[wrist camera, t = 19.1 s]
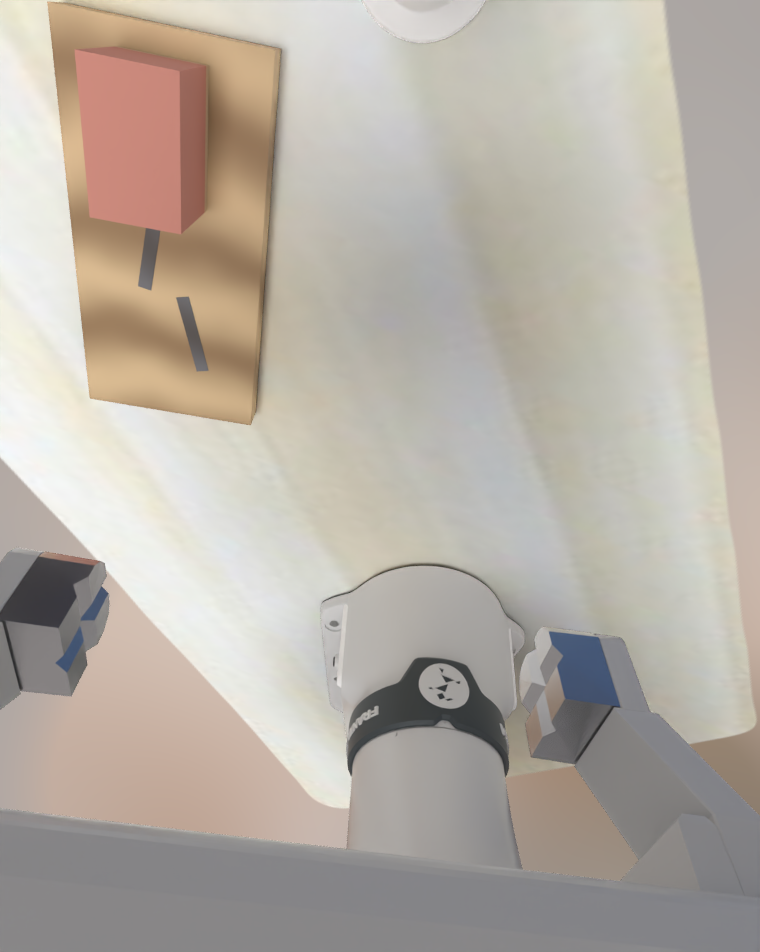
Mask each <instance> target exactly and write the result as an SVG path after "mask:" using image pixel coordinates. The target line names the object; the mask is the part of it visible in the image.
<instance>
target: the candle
mask: <svg viewBox="0 0 760 952" xmlns="http://www.w3.org/2000/svg"><path fill="white" fill-rule="evenodd" d="M485 1H486V0H362V3H363V4H364V6H365V8H366V9H367V11H368V12H369V14H370V15H371V17H372V18H373V19H374V20H375V21H376V22H377V24H379V25H380V26H381V27H382V28H383V29H384V30H386V31H387V32H388V33H390V34H392V35H393V36H395V37H397V38H399V39H402V40H405V41H408V42H413V43H431V42H436V41H440V40H443V39H445V38H448V37H450V36H452V35H453V34H455V33H457V32H458V31H460V30H461V29H462V28H463V27H465V26H466V25H467V24H468V23H469V22H470V21H471V20H472V19H473V18H474V17H475V15H476V14H477V13H478V12H479V10H480V9H481V7H482V6H483V4H484V3H485Z"/></svg>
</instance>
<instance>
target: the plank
mask: <svg viewBox="0 0 760 952" xmlns="http://www.w3.org/2000/svg"><path fill="white" fill-rule="evenodd" d="M47 3H48V12H49V21H50V31H51V40H52V49H53V59H54V68H55V77H56V87H57V96H58V105H59V115H60V124H61V133H62V143H63V152H64V161H65V171H66V180H67V189H68V199H69V208H70V218H71V227H72V236H73V246H74V255H75V264H76V274H77V283H78V292H79V302H80V311H81V320H82V330H83V339H84V348H85V358H86V367H87V376H88V386H89V395H90V398H91V399H97V400H103V401H109V402H115V403H121V404H127V405H133V406H139V407H145V408H151V409H157V410H163V411H169V412H175V413H181V414H187V415H193V416H199V417H205V418H211V419H217V420H222V421H228V422H234V423H240V424H246V425H251V423H252V420H253V418H254V415H255V413H256V400H257V385H258V371H259V357H260V342H261V328H262V314H263V299H264V285H265V271H266V256H267V242H268V228H269V214H270V199H271V185H272V171H273V156H274V142H275V128H276V113H277V99H278V85H279V70H280V56H281V49H280V48H275V47H270V46H265V45H261V44H256V43H251V42H247V41H242V40H237V39H233V38H228V37H223V36H218V35H214V34H209V33H204V32H200V31H195V30H190V29H186V28H181V27H176V26H171V25H167V24H162V23H157V22H153V21H148V20H143V19H139V18H134V17H129V16H124V15H120V14H115V13H110V12H106V11H101V10H96V9H91V8H87V7H82V6H77V5H73V4H68V3H62V2H47ZM113 46H119V47H124V48H129V49H134V50H138V51H143V52H148V53H153V54H158V55H163V56H167V57H172V58H177V59H182V60H187V61H191V62H196V63H201V64H206V65H209V89H208V163H207V211H206V212H205V213H204V214H203V215H202V216H200V217H199V218H198V219H197V220H196V221H195V222H194V223H193V224H192V225H191V226H190V227H189V228H188V229H186V230H185V231H184V232H183V233H182V234H176V233H171V232H165V231H160V230H155V229H149V228H144V227H139V226H133V225H128V224H123V223H117V222H112V221H107V220H101V219H96V218H91V217H90V215H89V204H88V193H87V182H86V171H85V160H84V149H83V138H82V127H81V116H80V105H79V94H78V83H77V72H76V61H75V50H74V49H86V48H100V47H113Z"/></svg>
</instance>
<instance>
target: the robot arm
mask: <svg viewBox="0 0 760 952" xmlns="http://www.w3.org/2000/svg"><path fill="white" fill-rule="evenodd" d="M106 576H107V575H106V569H105V563H103V562H101V561H97V560H91V559H85V558H79V557H74V556H68V555H62V554H56V553H50V552H42V551H36V550H30V549H25V548H19V547H16V548H14V549H13V550H11V551H10V552H8V553H7V554H6V556H5V557H4V558H3V559H2V561H1V562H0V710H1V709H2V708H3V707H5V706H6V705H7V704H8V703H10V702H11V701H12V700H14V699H15V698H16V697H17V696H19V695H20V694H21V692H20V691H26V692H34V693H45V694H53V695H63V696H72V694H73V692H74V690H75V688H76V686H77V684H78V682H79V680H80V678H81V676H82V674H83V672H84V670H85V668H86V666H87V659H86V651H87V650H89V649H91V648H92V647H94V646H95V645H97V644H98V642H99V640H100V638H101V636H102V634H103V631H104V628H105V625H106V621H107V618H108V613H109V594H108V592H107V591H106V590H105V589H104V588H103V587H102V584H103V582H104V580H105V578H106ZM320 616H321V626H322V635H323V644H324V653H325V662H326V672H327V681H328V690H329V699H330V704H331V706H332V707H333V708H335V709H337V710H338V711H340V712H342V713H343V716H344V724H345V732H346V738H347V747H346V751H347V759H348V770H349V772H350V775H351V776H352V782H351V795H350V808H349V821H348V835H347V849H343V848H334V847H325V846H317V845H309V844H300V843H292V842H283V841H273V840H265V839H257V838H249V837H240V836H231V835H223V834H214V833H206V832H198V831H189V830H180V829H172V828H163V827H154V826H146V825H138V824H129V823H120V822H111V821H104V820H95V819H87V818H78V817H70V816H61V815H52V814H44V813H35V812H27V811H19V810H10V809H2V808H0V952H760V816H759V815H758V814H757V813H756V812H755V811H754V810H753V809H752V808H751V807H750V806H749V805H748V804H747V803H746V802H745V801H744V800H743V799H742V798H741V797H740V796H739V795H738V794H737V793H736V792H735V791H734V790H733V789H732V788H731V787H730V786H729V785H728V784H727V783H726V782H725V781H724V780H723V779H722V778H721V777H720V776H719V775H718V774H717V773H716V772H715V771H714V770H713V769H712V768H711V767H710V766H709V765H708V764H707V763H706V762H705V761H704V760H703V759H702V758H701V757H700V755H699V754H698V753H696V751H695V750H693V748H691V747H690V745H689V744H688V743H687V742H686V741H685V740H684V739H683V738H682V737H681V736H680V735H679V734H678V733H677V732H676V731H675V730H674V729H673V728H672V727H671V726H670V725H669V724H668V723H667V722H666V721H665V720H664V719H663V718H662V717H661V716H660V715H659V714H657V713H652V712H650V710H649V708H648V705H647V702H646V700H645V697H644V694H643V691H642V689H641V686H640V683H639V680H638V678H637V675H636V672H635V669H634V667H633V664H632V661H631V659H630V656H629V653H628V650H627V648H626V645H625V642H624V641H623V640H622V639H621V638H620V637H615V636H608V635H601V634H592V633H588V632H581V631H573V630H566V629H559V628H551V627H544V626H543V627H542V628H541V629H539V630H538V632H537V634H536V636H535V638H534V641H535V646H536V649H535V650H533V651H531V652H529V653H528V654H526V657H525V659H524V661H523V663H522V666H521V672H520V678H519V690H520V697H521V703H522V704H523V705H524V707H525V708H526V709H527V710H528V711H529V713H530V716H529V718H528V720H527V721H526V723H525V727H526V732H527V738H528V744H529V749H530V755H531V757H533V758H539V759H546V760H552V761H558V762H564V763H571V764H576V765H575V766H574V767H575V768H576V769H577V771H578V772H579V774H580V775H581V777H582V778H583V779H584V781H585V782H586V784H587V785H588V787H589V788H590V790H591V791H592V793H593V794H594V796H595V797H596V798H597V800H598V801H599V803H600V804H601V806H602V807H603V809H604V810H605V811H606V813H607V814H608V816H609V817H610V818H611V820H612V822H613V823H614V824H615V826H616V827H617V829H618V830H619V832H620V833H621V835H622V836H623V838H624V839H625V840H626V842H627V843H628V845H629V846H630V848H631V849H632V850H633V852H634V853H635V855H636V856H637V858H638V859H639V861H638V862H637V863H636V864H635V865H634V866H633V867H632V868H631V869H630V870H629V871H628V872H627V873H626V875H625V876H624V877H623V878H622V879H621V880H620V881H614V880H605V879H597V878H588V877H580V876H571V875H563V874H554V873H546V872H537V871H529V870H523V869H522V865H521V861H520V856H519V852H518V847H517V843H516V839H515V834H514V829H513V824H512V818H511V813H510V806H509V801H508V794H507V787H506V780H505V777H506V775H507V773H508V769H509V759H508V755H509V744H508V737H507V734H506V731H505V724H504V721H505V720H506V719H507V718H508V717H509V716H510V714H511V712H512V711H513V710H515V709H516V706H517V695H516V683H515V671H514V661H513V658H514V657H515V655H516V654H517V653H518V652H519V650H520V649H521V648H522V647H523V645H524V643H525V634H524V631H523V629H522V628H521V627H520V626H519V625H518V624H516V623H515V622H514V621H512V620H511V619H510V618H508V617H507V616H506V614H505V613H504V611H503V609H502V607H501V605H500V603H499V601H498V599H497V597H496V596H495V595H494V593H493V592H492V591H491V590H490V589H489V588H488V587H487V586H486V585H484V584H483V583H482V582H480V581H479V580H477V579H475V578H474V577H472V576H470V575H467V574H465V573H462V572H460V571H456V570H453V569H449V568H444V567H437V566H410V567H404V568H398V569H395V570H391V571H388V572H385V573H382V574H380V575H378V576H376V577H374V578H372V579H370V580H369V581H367V582H366V583H364V584H363V585H362V586H360V587H359V588H357V589H356V590H354V591H353V592H351V593H348V594H344V595H341V596H337V597H334V598H331V599H328V600H326V601H325V602H323V603H322V605H321V615H320Z"/></svg>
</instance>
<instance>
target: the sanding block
mask: <svg viewBox="0 0 760 952" xmlns="http://www.w3.org/2000/svg"><path fill="white" fill-rule="evenodd" d="M74 50H75V61H76V72H77V83H78V94H79V105H80V116H81V127H82V138H83V149H84V160H85V171H86V182H87V193H88V204H89V215H90V217H91V218H96V219H101V220H107V221H112V222H117V223H123V224H128V225H133V226H139V227H144V228H149V229H155V230H160V231H165V232H171V233H176V234H182V233H183V232H184V231H185V230H186V229H188V228H189V227H190V226H191V225H192V224H193V223H194V222H195V221H196V220H197V219H198V218H199V217H200V216H202V215H203V214H204V213H205V212H206V211H207V163H208V89H209V65H206V64H201V63H196V62H191V61H187V60H182V59H177V58H172V57H167V56H163V55H158V54H153V53H148V52H143V51H138V50H134V49H129V48H124V47H119V46H113V47H100V48H86V49H74Z"/></svg>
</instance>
